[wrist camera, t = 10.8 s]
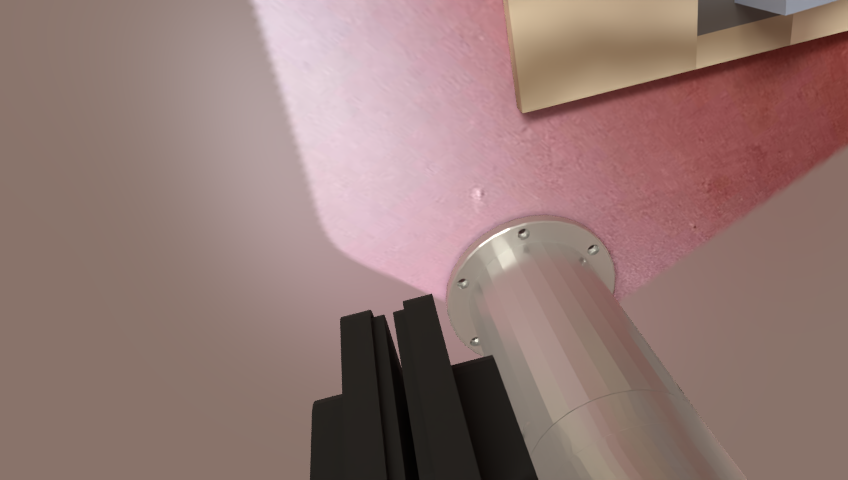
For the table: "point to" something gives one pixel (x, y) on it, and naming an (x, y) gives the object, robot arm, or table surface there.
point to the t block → (783, 5)
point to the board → (641, 41)
